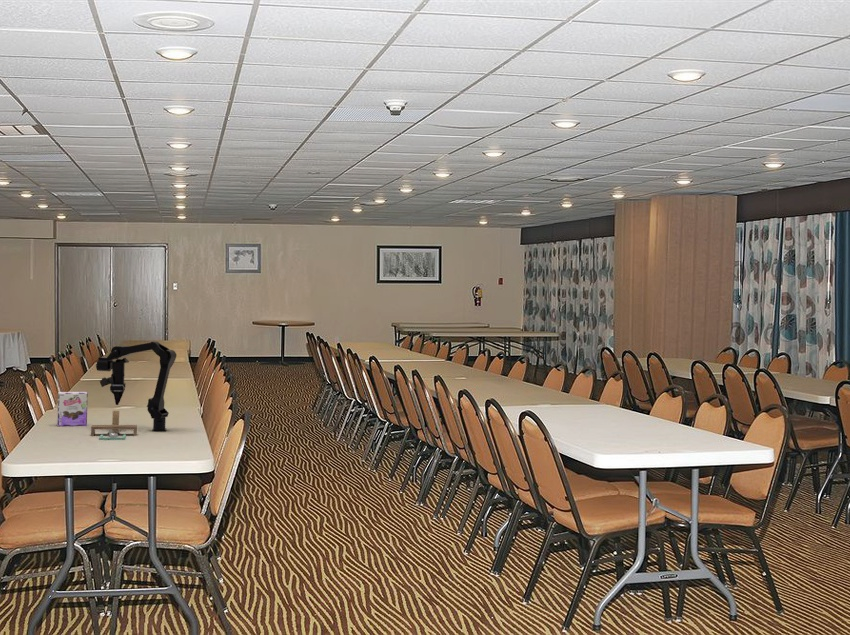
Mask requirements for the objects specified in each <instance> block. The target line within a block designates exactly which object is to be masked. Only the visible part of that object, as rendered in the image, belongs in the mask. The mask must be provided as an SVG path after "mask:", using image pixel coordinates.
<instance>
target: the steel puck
mask: <svg viewBox="0 0 850 635" xmlns="http://www.w3.org/2000/svg"><path fill="white" fill-rule="evenodd" d="M108 438H119V434H118V433H109V434H108Z"/></svg>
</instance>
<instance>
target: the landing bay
mask: <svg viewBox="0 0 850 635" xmlns="http://www.w3.org/2000/svg"><path fill="white" fill-rule="evenodd" d="M126 437H127V434H123V436H122V437H104V434H100V436H99V438H98V440H99V441H101V440H103V441H107V440H109V441H113V440H114V441H116V440H117V441H118V440H119V441H121V440H123V441H124V440H125V439H126Z"/></svg>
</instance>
